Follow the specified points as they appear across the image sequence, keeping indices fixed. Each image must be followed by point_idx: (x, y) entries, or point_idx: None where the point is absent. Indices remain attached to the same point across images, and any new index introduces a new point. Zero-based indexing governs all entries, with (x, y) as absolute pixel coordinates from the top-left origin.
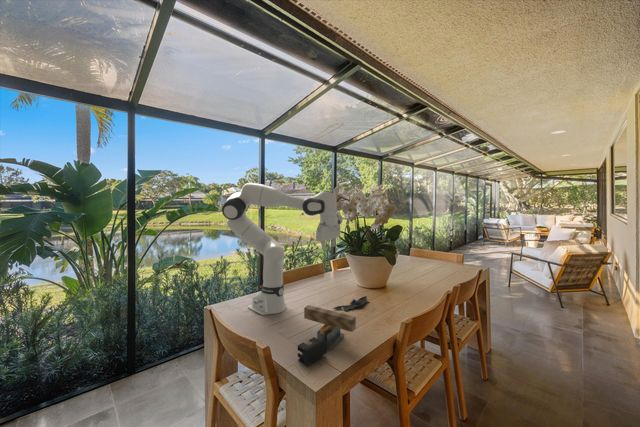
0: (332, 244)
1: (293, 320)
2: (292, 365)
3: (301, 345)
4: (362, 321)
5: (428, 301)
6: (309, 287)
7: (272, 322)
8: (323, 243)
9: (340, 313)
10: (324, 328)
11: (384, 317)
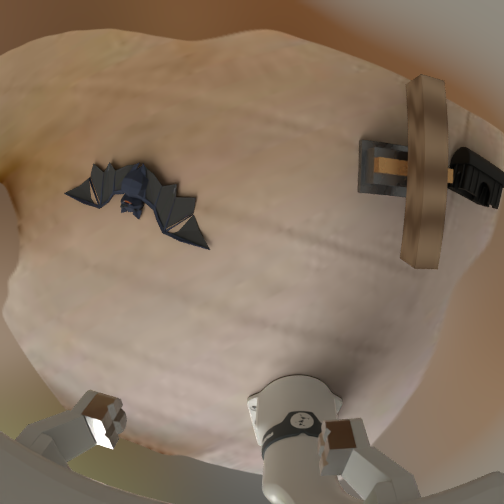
0: (111, 423)
1: (337, 321)
2: (491, 207)
3: (497, 200)
4: (239, 123)
5: (40, 44)
6: (107, 385)
7: (368, 358)
8: (403, 477)
9: (427, 127)
10: (448, 170)
11: (177, 77)
